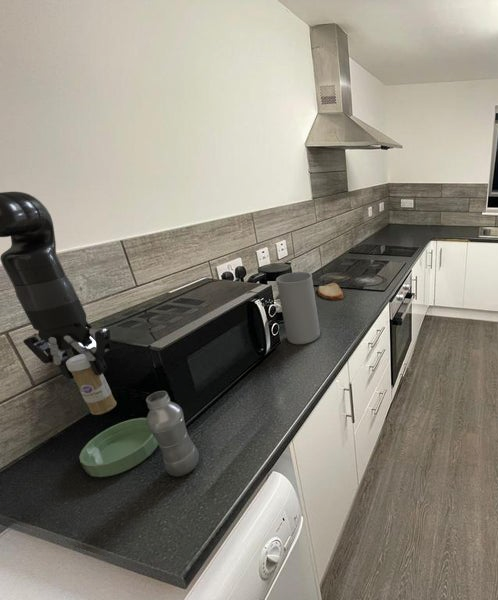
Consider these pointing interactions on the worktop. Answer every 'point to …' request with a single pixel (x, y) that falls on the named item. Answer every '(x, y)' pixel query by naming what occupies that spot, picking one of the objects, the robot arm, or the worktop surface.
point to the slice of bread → (330, 292)
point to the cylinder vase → (298, 307)
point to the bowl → (118, 448)
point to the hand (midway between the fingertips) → (87, 374)
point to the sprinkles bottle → (91, 385)
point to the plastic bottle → (171, 434)
